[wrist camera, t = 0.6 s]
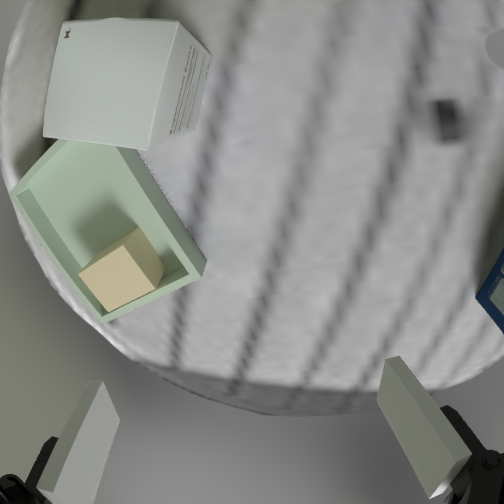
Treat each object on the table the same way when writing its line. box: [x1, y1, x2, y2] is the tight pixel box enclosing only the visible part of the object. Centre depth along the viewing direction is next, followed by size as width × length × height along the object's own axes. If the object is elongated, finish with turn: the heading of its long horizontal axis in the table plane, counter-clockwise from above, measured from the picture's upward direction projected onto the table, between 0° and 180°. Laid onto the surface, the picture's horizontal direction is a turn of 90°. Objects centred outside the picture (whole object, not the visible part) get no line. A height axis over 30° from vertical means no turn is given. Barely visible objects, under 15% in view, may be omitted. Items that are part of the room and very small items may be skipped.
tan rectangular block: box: [78, 227, 167, 312], centre depth 35 cm, size 8×6×5 cm
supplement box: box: [43, 17, 212, 151], centre depth 22 cm, size 9×9×15 cm
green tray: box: [9, 139, 207, 324], centre depth 34 cm, size 17×22×4 cm
